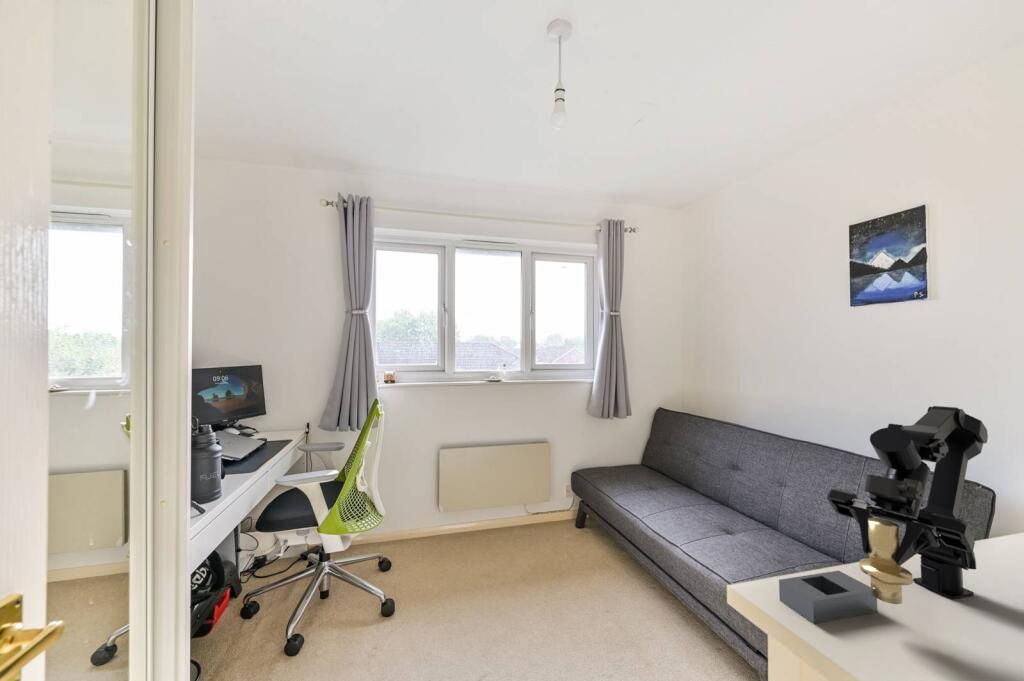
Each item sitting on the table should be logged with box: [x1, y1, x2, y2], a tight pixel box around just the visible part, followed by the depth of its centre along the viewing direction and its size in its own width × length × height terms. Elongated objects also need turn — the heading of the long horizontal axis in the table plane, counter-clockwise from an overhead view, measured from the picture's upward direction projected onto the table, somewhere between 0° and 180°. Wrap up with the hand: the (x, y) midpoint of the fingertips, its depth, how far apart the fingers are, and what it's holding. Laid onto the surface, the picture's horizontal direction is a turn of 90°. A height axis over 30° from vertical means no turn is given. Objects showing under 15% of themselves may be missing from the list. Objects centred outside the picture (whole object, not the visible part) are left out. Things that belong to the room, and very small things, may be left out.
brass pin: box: [858, 517, 914, 605], centre depth 69 cm, size 7×7×13 cm
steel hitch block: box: [778, 570, 878, 624], centre depth 75 cm, size 15×7×4 cm, turn 102°
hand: (881, 558), depth 68 cm, fingers closed on brass pin, 4 cm apart
